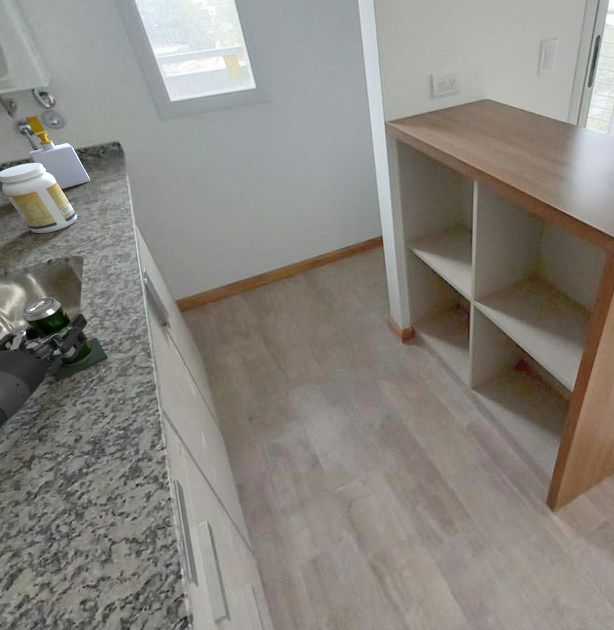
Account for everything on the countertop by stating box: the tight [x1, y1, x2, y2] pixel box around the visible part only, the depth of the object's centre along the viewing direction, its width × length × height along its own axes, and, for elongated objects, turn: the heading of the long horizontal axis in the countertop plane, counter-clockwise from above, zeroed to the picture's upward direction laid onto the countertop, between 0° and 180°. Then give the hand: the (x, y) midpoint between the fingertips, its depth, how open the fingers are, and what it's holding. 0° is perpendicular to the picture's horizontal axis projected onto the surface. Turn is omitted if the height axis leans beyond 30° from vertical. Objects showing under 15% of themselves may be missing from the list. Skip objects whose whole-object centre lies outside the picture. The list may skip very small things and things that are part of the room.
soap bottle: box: [25, 114, 91, 190], centre depth 152 cm, size 12×7×23 cm, turn 134°
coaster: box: [50, 336, 109, 382], centre depth 82 cm, size 8×8×1 cm
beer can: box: [21, 296, 92, 366], centre depth 78 cm, size 5×5×12 cm
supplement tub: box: [0, 162, 78, 234], centre depth 126 cm, size 12×12×17 cm
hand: (63, 319), depth 79 cm, fingers open, 6 cm apart
